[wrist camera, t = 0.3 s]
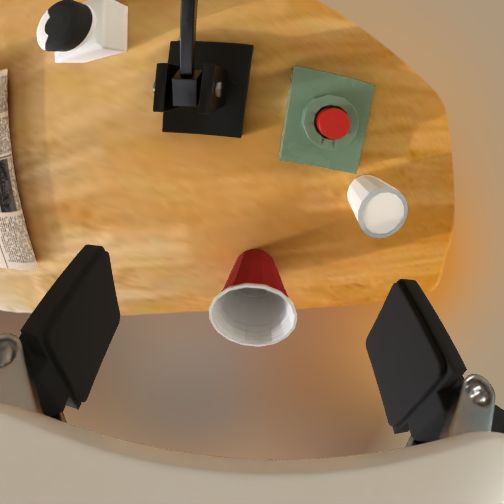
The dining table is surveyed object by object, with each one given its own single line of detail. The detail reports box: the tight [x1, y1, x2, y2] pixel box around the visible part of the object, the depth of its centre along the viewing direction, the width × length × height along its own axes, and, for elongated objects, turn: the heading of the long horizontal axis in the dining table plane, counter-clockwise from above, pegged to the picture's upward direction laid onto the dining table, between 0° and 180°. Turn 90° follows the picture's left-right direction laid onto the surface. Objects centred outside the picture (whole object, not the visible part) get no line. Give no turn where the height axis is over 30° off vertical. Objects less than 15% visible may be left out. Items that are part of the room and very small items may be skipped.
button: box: [316, 107, 350, 139], centre depth 30 cm, size 4×4×2 cm
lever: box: [172, 0, 203, 107], centre depth 19 cm, size 12×6×2 cm, turn 172°
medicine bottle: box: [37, 0, 128, 63], centre depth 22 cm, size 7×7×12 cm
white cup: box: [347, 175, 408, 238], centre depth 36 cm, size 7×7×7 cm
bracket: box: [153, 41, 254, 138], centre depth 27 cm, size 12×10×13 cm
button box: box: [279, 66, 375, 174], centre depth 33 cm, size 12×10×4 cm
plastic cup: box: [209, 249, 298, 346], centre depth 41 cm, size 11×11×12 cm
